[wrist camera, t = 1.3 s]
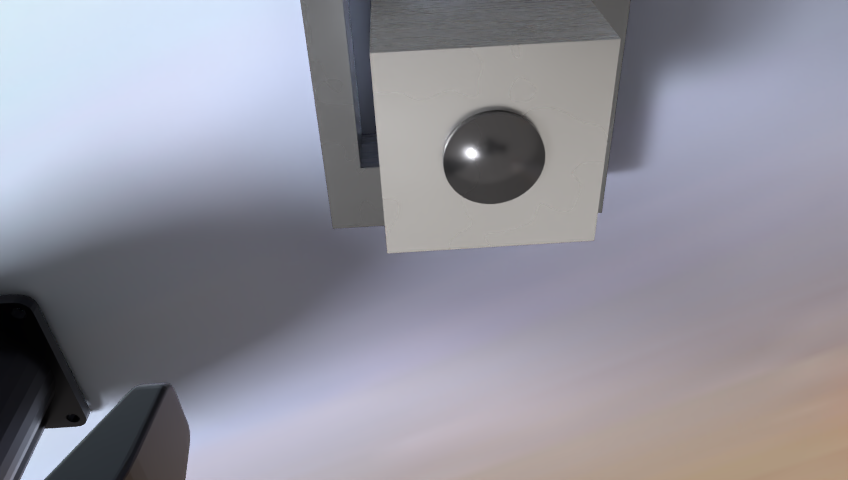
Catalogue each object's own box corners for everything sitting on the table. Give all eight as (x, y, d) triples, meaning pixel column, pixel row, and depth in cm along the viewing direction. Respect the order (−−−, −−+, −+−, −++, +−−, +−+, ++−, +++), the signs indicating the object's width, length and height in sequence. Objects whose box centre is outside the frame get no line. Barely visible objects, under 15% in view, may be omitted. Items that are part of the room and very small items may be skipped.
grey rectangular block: (536, 100, 21) (596, 246, 15) (385, 109, 21) (387, 259, 15) (546, -59, 18) (624, 43, 12) (372, -50, 18) (369, 57, 12)
